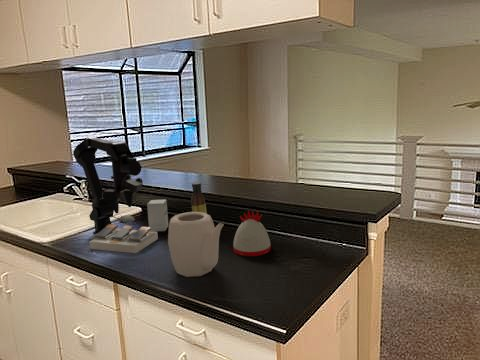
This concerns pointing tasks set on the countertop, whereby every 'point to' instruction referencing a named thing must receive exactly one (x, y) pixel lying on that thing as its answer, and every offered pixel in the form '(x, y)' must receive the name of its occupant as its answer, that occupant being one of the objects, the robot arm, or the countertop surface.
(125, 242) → the switch board
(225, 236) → the countertop surface
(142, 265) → the countertop surface
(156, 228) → the supplement box
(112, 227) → the rocker
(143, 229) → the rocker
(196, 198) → the sauce bottle
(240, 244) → the kitchen timer
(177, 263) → the watering can
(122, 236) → the rocker
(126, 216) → the soupspoon
